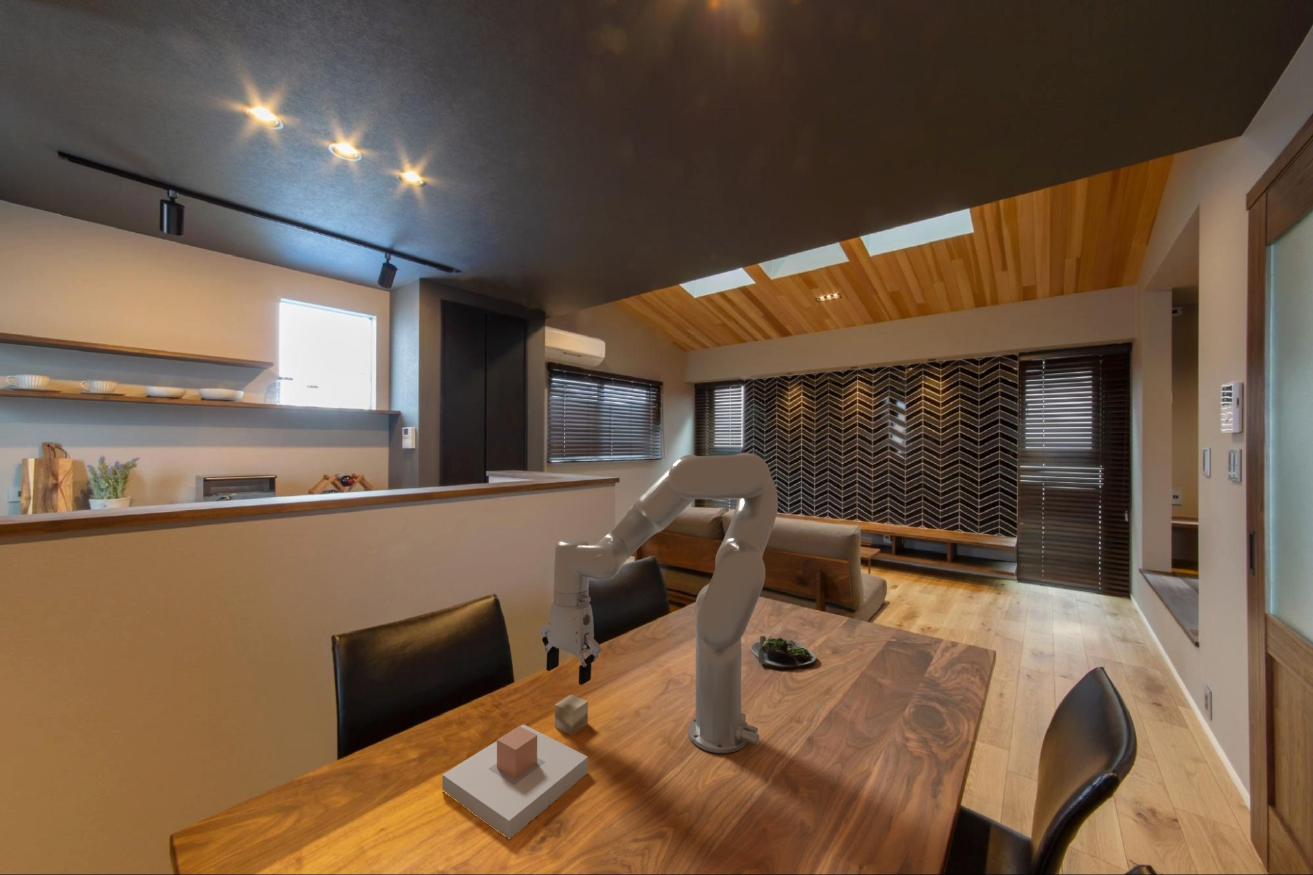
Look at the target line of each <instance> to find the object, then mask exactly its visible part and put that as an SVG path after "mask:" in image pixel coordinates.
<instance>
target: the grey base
mask: <svg viewBox="0 0 1313 875" xmlns="http://www.w3.org/2000/svg"><path fill="white" fill-rule="evenodd" d="M519 726H520V727H522V728H524V729H526V730H528V731H530V732H532V733H534V734H536V735H537V763H536V764H535V765H533V766H532V767H531V768H529V769H528V770H526V771H525V772H524V773H522V774H521V775H520V776H518V777H517V778H516V779H515V778H513V777H512V776H510V775H508V774H507V773H505V772H503V771H502V770H500V769H498V768H497V740H496V741H495V742H493V743H491V744H489V745H488V746H486V747H485V748H483V749H482V750H480V751H478V752H476V753H474V755H471V756H470V757H468V758H467V759H465V760H463V761H462V762H460V763H459V764H458V765H457V764H456V766H454V767H452V768H451V769H449V770H448V771H446V772H445V773H443V774H442V780H441V781H442V784H441V786H442V787H441V788H442V789H441V791H442V790H444V791H445V792H447V794H449V795H450V796H451V797H453V798H454V799H456V800H457V801H458V802H459V803H460V804H462V805H464V807H466V808H468V809H469V810H470V811H471V812H473V814H472V815H474V814H475V815H477V816H478V817H479V818H481V819H482V820H484V821H485V822H487V823H488V824H489V825H491V826H492V827H493V828H495V829H496V830H498V831H499V832H500V833H502V834H504V835H505V836H506V837H507V838H511V837H512V836H513V835H515V834H516V833H517V832H518V831H519V832H520V831H522V830H523V829H524V828H526V826H528V825H529V824H530V823H531V822H532V821H533V820H535V819H536V818H537V817H538V816H539V815H540V814H542V812H544V811H545V810H547V808H549V807H550V806H551V805H552V804H553V803H554V802H556V801H555V800H558V799H560V797H561V796H563V795H564V794H565V793H566V792H567V791H569V790H570V789H571V788H572V787H573V786H574V785H576V783H578V782H579V781H580V780H581V779H583V778H584V777H585V776H586V775H588V773H589V756H587V755H586V754H583V753H581V752H580V751H577V750H575V749H573V748H572V747H570V746H567V745H565V744H564V743H562V742H560V741H557V740H556V739H554V738H552V737H550V736H548V735H546V734H543V733H542V732H539V731H537V730H535V729H533V728H532V727H530V726H527V725H526V724H522V725H519ZM460 804H459V805H460ZM549 805H550V806H549ZM548 806H549V807H548ZM464 807H463V808H464ZM471 812H470V813H471ZM475 815H474V816H475ZM536 816H537V817H536ZM478 817H477V818H478ZM535 817H536V818H535ZM479 818H478V819H479ZM482 820H481V821H482ZM531 820H532V821H531ZM530 821H531V822H530ZM485 822H484V823H485ZM529 822H530V823H529ZM528 823H529V824H528ZM489 825H488V826H489ZM493 828H492V829H493ZM521 829H522V830H521ZM496 830H495V831H496ZM519 832H518V833H519ZM500 833H499V834H500ZM518 833H517V834H518ZM517 834H516V835H517ZM516 835H515V836H516ZM513 837H514V836H513ZM513 837H512V838H513ZM507 838H506V839H507ZM512 838H511V839H512Z"/></svg>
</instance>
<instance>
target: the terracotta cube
mask: <svg viewBox="0 0 1313 875" xmlns="http://www.w3.org/2000/svg"><path fill="white" fill-rule="evenodd" d="M520 726H521V725H518V726H517V727H515V728H513V729H512V730H511V731H509V732H507V733H506V734H504V735H502V736H501V737H499V738H498V739H496V741H497V768H498V769H500V770H502V771H503V772H505V773H507V774H508V775H510V776H512V777H513V778H515V779H516V778H517V777H518V776H520V775H521V774H522V773H524V772H525V771H526V770H528V769H529V768H531V767H532V766H533V765H535V764H536V763H537V735H536V734H534V733H532V732H530V731H528V730H526V729H524V728H522V727H520Z"/></svg>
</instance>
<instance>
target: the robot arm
mask: <svg viewBox="0 0 1313 875" xmlns="http://www.w3.org/2000/svg"><path fill="white" fill-rule="evenodd" d="M723 499H724V500H727V499H733V500H734V499H736V505H735V509H734V512H733V514H732V518H731V521H730V523H729V525H728V528H727V531H726V533H725V536H724V538H723V540H722V542H721V544H720V546H719V548H718V549H717V552H716V554H715V567H714V571H713V574H712V576H711V579H710V582H709V583H708V584H707V583H706V585H704V586H703V587H702V588H701V590H699V591H698V592H699V593H698V594H697V596H696V599H695V600H696V601H695V610H694V612H695V613H694V614H695V616H694V618H695V619H694V620H695V623H694V624H695V717H694V718H692V719H691V721H690V722H689V724H688V727H687V730H688V734H687V735H688V738H689V739H690V741H692V743H693V744H694V745H695V746H697V747H698V748H700V749H702V750H703V751H706V752H710V753H715V754H730V753H731V754H732V753H734V752H737V751H740V750H741V749H743V748H744V747H745V746H746V745H747V743H750V744H752V745H755V746H758V744H759V741H760V735H759V733H758V729H759V728H758V727H757V726H755V725H750V724H748V723H747V722H746V719H747V718H746V714H744V713H742V637H743V636H744V633H745V632H746V629H747V627H748V625H749V622H750V621H751V618H752V615H753V613H754V611H755V608H756V605H757V604H758V601H759V598H760V596H761V593H762V590H763V588H764V584H765V581H766V566H765V562H764V560H763V556H764V553H765V550H766V547H767V545H768V542H769V539H770V537H771V533H772V531H773V529H774V525H775V522H776V519H777V518H776V517H777V514H778V509H779V508H778V507H779V502H778V501H779V499H778V492H777V488H776V484H775V481H774V479H773V478H772V475H771V471H770V468H769V466H768V464H767V463H766V461H765V460H764V459H763V458H762V457H760V456H758V455H755V454H753V453H749V452H740V453H736V454H731V455H729V454H728V455H707V456H706V455H701V456H700V455H695V454H686V455H683V456H681V457H680V458H678V459H676V461H675V462H673V464H672V465H671V466H670V467H668V469H667V470H666V471H665V472H664V473H663V474H662V475H661V476H660V477H659V478H658V479H657V480H656V481H655V482H654V483H653V484H652V485H651V486H650V487H649V488H648V489H646V491H645V492H644V493H643V494H642V495H641V496H639V498H638V499H637V500H636V501H635V502H634V504H633V505H632V507H631V509H630V510H629V511H627V513H626V515H625V516H623V518H621V520H620V521H619V522H617V524H616V525H615V526H614V527H613V528H612V529H611V530H609V532H608V533H607V534H605V535H604V537H602V538H601V539H600V540H599V541H598V542H597V543H594V544H590V543H589V542H588V541H587V540H585V539H582V538H565V539H561V540H559V541H558V542H557V543H556V545H555V548H554V570H553V571H554V572H553V574H554V575H553V596H552V597H553V599H552V601H551V605H550V609H549V616H548V624H547V625H544V626H542V627H540V629H539V631H540V634H541V635H540V636H541V637H542V640H541V641H542V643H543V645H544V651H545V653H546V664H545V665H546V669H545V671H547V672H550V671H552V670H554V669H557V668H558V667H559V666H560V665H559V662H560V651H564V652H566V653H569V654H572V655H574V656H575V655H576V657H577V658H578V661H579V662H580V665H579V667H578V684H579V685H580V686H582V685H584V684H586V683H588V682H590V681H591V679H592V663H594V662H595V661H596V660H597V659H598V658H599V655H600V654H601V651H602V646H601V645H600V644H599V643H598V641H596V639H595V638H594V637H595V634H594V633H595V631H594V616H593V614H594V613H593V609H592V605H591V603H590V602H591V599H592V598H591V596H589V587H590V586H589V582H590V579H595V580H600V581H607V580H611V579H613V578H614V577H616V576H617V574H619V572H620V571H621V569H622V567H623V566H624V564H625V563H626V561H627V560H629V558H630V557H631V556H633V555H634V553H636V551H637V550H638V549H639V548H641V546H643V544H645V543H646V542H647V541H648V540H649V539H650V538H651V537H652V536H654V535H656V534H659V533H660V532H662V531H664V529H666V528H667V527H668V526H669V525H670V524H672V522H673V521H674V520H675V519H676V518H677V517H678V516H679V515H680V514H681V513H682V512H683V511H684V510H686V508H687V507H688V506H689V505H690V504H691V503H693V501H694V500H723ZM584 654H585V656H586V657H585V656H584Z"/></svg>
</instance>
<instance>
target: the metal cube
mask: <svg viewBox="0 0 1313 875" xmlns="http://www.w3.org/2000/svg"><path fill="white" fill-rule="evenodd" d="M588 705H589V701H588V700H586V699H583V698H580V697H579V696H576V695H573V694H570V695H567V696H566V697H565V698H563V699H562V700H560V701H558V702H556V703H555V704H554V728H556V729H557V730H559V729H560V730H559V731H561V732H563V733H565V732H566V733H565V734H568V735H570V736H573V735H575V734H576V733H577V732H578V730H579V731H580V730H582V729H583V728H584V727H585V726H587V725H588V724H589V718H588V717H589V716H588V715H589V706H588ZM582 727H583V728H582Z"/></svg>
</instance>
